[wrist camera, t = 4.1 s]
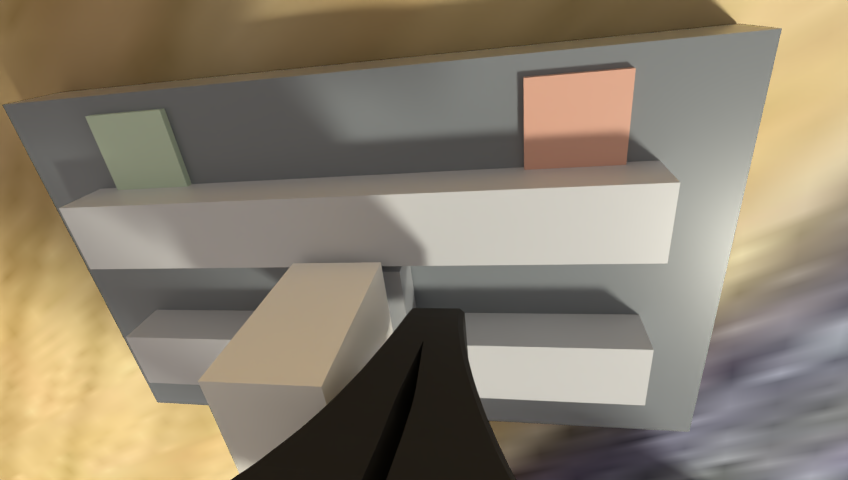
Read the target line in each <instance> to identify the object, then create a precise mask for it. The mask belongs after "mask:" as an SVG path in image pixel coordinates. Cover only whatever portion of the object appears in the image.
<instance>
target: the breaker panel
mask: <svg viewBox="0 0 848 480" xmlns="http://www.w3.org/2000/svg"><path fill="white" fill-rule="evenodd" d="M781 30H782V28H773V27H764V26H755V25H746V24H730V25H720V26H710V27H700V28H690V29H680V30H670V31H661V32H651V33H641V34H631V35H621V36H611V37H601V38H591V39H582V40H572V41H562V42H552V43H542V44H532V45H522V46H512V47H503V48H493V49H483V50H473V51H463V52H453V53H443V54H434V55H424V56H414V57H404V58H394V59H384V60H374V61H364V62H355V63H345V64H335V65H325V66H315V67H305V68H295V69H285V70H276V71H266V72H256V73H246V74H236V75H226V76H216V77H206V78H197V79H187V80H177V81H167V82H157V83H147V84H137V85H127V86H118V87H108V88H98V89H88V90H78V91H68V92H60V93H55V94H51V95H46V96H41V97H36V98H32V99H27V100H22V101H18V102H13V103H8V104H3V107H4V109H5V111H6V113H7V115H8V117H9V119H10V120H11V122H12V124H13V126H14V128H15V130H16V132H17V134H18V136H19V138H20V140H21V142H22V143H23V145H24V147H25V149H26V151H27V153H28V155H29V157H30V159H31V161H32V163H33V165H34V166H35V168H36V170H37V172H38V174H39V176H40V178H41V180H42V182H43V184H44V186H45V188H46V189H47V191H48V193H49V195H50V197H51V199H52V201H53V203H54V205H55V207H56V209H57V211H58V212H59V214H60V216H61V218H62V220H63V222H64V224H65V226H66V228H67V230H68V232H69V234H70V236H71V237H72V239H73V241H74V243H75V245H76V247H77V249H78V251H79V253H80V255H81V257H82V259H83V260H84V262H85V264H86V266H87V268H88V270H89V272H90V274H91V276H92V278H93V280H94V282H95V283H96V285H97V287H98V289H99V291H100V293H101V295H102V297H103V299H104V301H105V303H106V305H107V306H108V308H109V310H110V312H111V314H112V316H113V318H114V320H115V322H116V324H117V326H118V328H119V329H120V331H121V333H122V335H123V337H124V339H125V341H126V343H127V345H128V347H129V349H130V351H131V353H132V354H133V356H134V358H135V360H136V362H137V364H138V366H139V368H140V370H141V372H142V374H143V376H144V377H145V379H146V381H147V383H148V385H149V387H150V389H151V391H152V393H153V395H154V397H155V399H156V400H157V402H161V403H179V404H197V405H208V403H207V400H206V398H205V396H204V394H203V392H202V389H201V387H200V385H199V383H198V380H199V379H200V378H201V377H202V375H203V374H204V373H205V372H206V370H207V369H208V368H209V367H210V366H211V364H212V363H213V362H214V361H215V359H216V358H217V357H218V356H219V354H220V353H221V352H222V351H223V349H224V348H225V347H226V346H227V344H228V343H229V342H230V341H231V339H232V338H233V337H234V336H235V335H236V333H237V332H238V331H239V330H240V328H241V327H242V326H243V325H244V323H245V322H246V321H247V320H248V318H249V317H250V316H251V315H252V313H253V312H254V311H255V310H256V308H257V307H258V306H259V305H260V304H261V302H262V301H263V300H264V299H265V297H266V296H267V295H268V294H269V292H270V291H271V290H272V289H273V287H274V286H275V285H276V284H277V282H278V281H279V280H280V279H281V278H282V276H283V275H284V274H285V273H286V271H287V270H288V269H289V268H290V266H291V265H292V264H293V263H362V262H381V266H410V267H411V274H412V281H413V288H414V295H415V302H416V308H460V309H461V310H462V311H463V312H464V313H465V322H466V335H467V348H468V360H469V364H470V367H471V371H472V375H473V378H474V382H475V385H476V388H477V391H478V394H479V397H480V400H481V403H482V405H483V408H484V411H485V413H486V416H487V418H488V421H504V422H522V423H540V424H558V425H576V426H594V427H612V428H630V429H648V430H666V431H684V432H689V430H690V426H691V422H692V417H693V413H694V409H695V404H696V400H697V396H698V391H699V387H700V382H701V378H702V374H703V369H704V365H705V361H706V356H707V352H708V348H709V343H710V339H711V335H712V330H713V326H714V321H715V317H716V313H717V308H718V304H719V300H720V295H721V291H722V287H723V282H724V278H725V274H726V269H727V265H728V261H729V256H730V252H731V247H732V243H733V239H734V234H735V230H736V226H737V221H738V217H739V213H740V208H741V204H742V200H743V195H744V191H745V186H746V182H747V178H748V173H749V169H750V165H751V160H752V156H753V152H754V147H755V143H756V139H757V134H758V130H759V126H760V121H761V117H762V112H763V108H764V104H765V99H766V95H767V91H768V86H769V82H770V78H771V73H772V69H773V65H774V60H775V56H776V51H777V47H778V43H779V38H780V34H781ZM393 332H394V331H393Z"/></svg>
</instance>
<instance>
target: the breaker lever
mask: <svg viewBox="0 0 848 480" xmlns="http://www.w3.org/2000/svg"><path fill="white" fill-rule="evenodd" d="M413 308H416V302H415V295H414V288H413V281H412V274H411V267H410V266H381V262H362V263H293V264H292V265H291V266H290V268H289V269H288V270H287V271H286V273H285V274H284V275H283V276H282V278H281V279H280V280H279V281H278V282H277V284H276V285H275V286H274V287H273V289H272V290H271V291H270V292H269V294H268V295H267V296H266V297H265V299H264V300H263V301H262V302H261V304H260V305H259V306H258V307H257V308H256V310H255V311H254V312H253V313H252V315H251V316H250V317H249V318H248V320H247V321H246V322H245V323H244V325H243V326H242V327H241V328H240V330H239V331H238V332H237V333H236V335H235V336H234V337H233V338H232V339H231V341H230V342H229V343H228V344H227V346H226V347H225V348H224V349H223V351H222V352H221V353H220V354H219V356H218V357H217V358H216V359H215V361H214V362H213V363H212V364H211V366H210V367H209V368H208V369H207V370H206V372H205V373H204V374H203V375H202V377H201V378H200V379H199V380H198V383H199V385H200V387H201V389H202V392H203V394H204V396H205V398H206V400H207V403H208V405H209V407H210V409H211V412H212V414H213V416H214V418H215V420H216V423H217V425H218V427H219V429H220V431H221V434H222V436H223V438H224V440H225V443H226V445H227V447H228V449H229V451H230V454H231V456H232V458H233V460H234V462H235V465H236V467H237V469H238V471H239V474H240V473H241V472H243V471H244V470H246V469H247V468H249V467H250V466H252V465H253V464H255V463H256V462H257V461H259V460H260V459H261V458H263V457H264V456H265V455H267V454H268V453H269V452H271V451H272V450H273V449H274V448H276V447H277V446H278V445H280V444H281V443H282V442H284V441H285V440H286V439H288V438H289V437H290V436H291V435H293V434H294V433H295V432H296V431H298V430H299V429H300V428H301V427H302V426H304V425H305V424H306V423H307V422H308V421H309V420H311V419H312V418H313V417H314V416H315V415H316V414H317V413H318V412H320V411H321V410H322V409H323V408H324V407H325V406H326V405H327V404H328V403H329V402H330V401H331V400H332V399H333V398H334V397H335V396H336V395H337V394H339V392H340V391H341V390H342V389H343V388H344V387H345V386H346V385H347V384H348V383H349V382H350V381H351V380H352V379H353V378H354V377H355V376H356V375H357V374H358V373H359V372H360V371H361V369H362V368H363V367H364V366H365V365H366V364H367V363H368V362H369V360H370V359H371V358H372V357H373V356H374V355H375V353H376V352H377V351H378V350H379V349H380V348H381V346H382V345H383V344H384V343H385V342H386V340H387V339H388V338H389V337H390V335H391V334H392V333H393V331H394V330H395V329H396V328H397V327H398V325H399V324H400V323H401V322H402V320H403V319H404V318H405V316H406V315H407V314H408V312H409V311H410V310H411V309H413Z"/></svg>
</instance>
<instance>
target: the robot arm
mask: <svg viewBox="0 0 848 480" xmlns="http://www.w3.org/2000/svg"><path fill="white" fill-rule="evenodd" d="M231 480H516V479H515V477H514V475H513V473H512V471H511V469H510V467H509V465H508V463H507V461H506V459H505V457H504V455H503V453H502V451H501V448H500V446H499V444H498V442H497V440H496V437H495V435H494V433H493V430H492V428H491V426H490V423H489V421H488V418H487V416H486V413H485V411H484V408H483V405H482V403H481V400H480V397H479V394H478V391H477V388H476V385H475V382H474V378H473V375H472V371H471V367H470V364H469V360H468V348H467V335H466V322H465V313H464V312H463V311H462V310H461V309H460V308H413V309H411V310H410V311H409V312H408V314H407V315H406V316H405V318H404V319H403V320H402V322H401V323H400V324H399V325H398V327H397V328H396V329H395V330H394V332H393V333H392V334H391V335H390V337H389V338H388V339H387V340H386V342H385V343H384V344H383V345H382V346H381V348H380V349H379V350H378V351H377V352H376V353H375V355H374V356H373V357H372V358H371V359H370V360H369V362H368V363H367V364H366V365H365V366H364V367H363V368H362V369H361V371H360V372H359V373H358V374H357V375H356V376H355V377H354V378H353V379H352V380H351V381H350V382H349V383H348V384H347V385H346V386H345V387H344V388H343V389H342V390H341V391H340V392H339V394H337V395H336V396H335V397H334V398H333V399H332V400H331V401H330V402H329V403H328V404H327V405H326V406H325V407H324V408H323V409H322V410H321V411H320V412H318V413H317V414H316V415H315V416H314V417H313V418H312V419H311V420H309V421H308V422H307V423H306V424H305V425H304V426H302V427H301V428H300V429H299V430H298V431H296V432H295V433H294V434H293V435H291V436H290V437H289V438H288V439H286V440H285V441H284V442H282V443H281V444H280V445H278V446H277V447H276V448H274V449H273V450H272V451H271V452H269V453H268V454H267V455H265V456H264V457H263V458H261V459H260V460H259V461H257V462H256V463H255V464H253V465H252V466H250V467H249V468H247V469H246V470H244V471H243V472H241V473H240V474H239V475H237V476H236V477H234V478H233V479H231Z"/></svg>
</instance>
